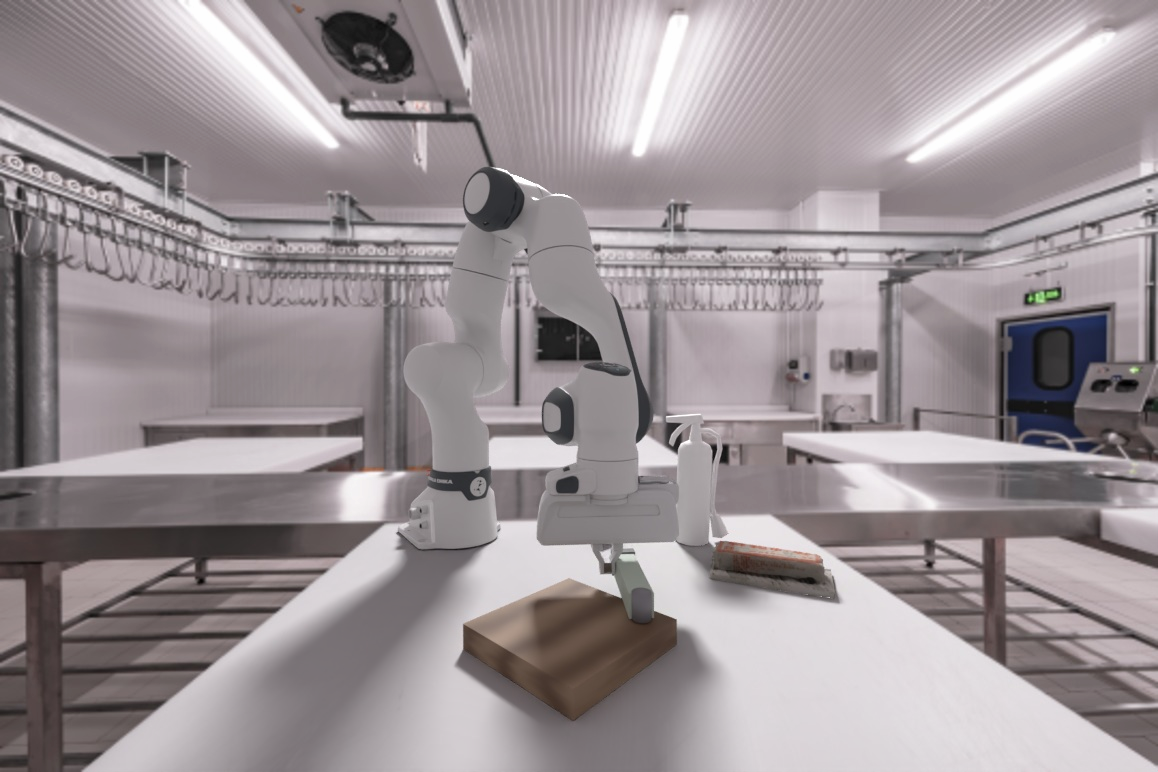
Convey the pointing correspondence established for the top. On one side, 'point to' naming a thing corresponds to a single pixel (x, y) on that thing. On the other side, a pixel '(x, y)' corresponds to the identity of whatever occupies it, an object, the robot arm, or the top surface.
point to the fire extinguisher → (696, 483)
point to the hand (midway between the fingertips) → (607, 572)
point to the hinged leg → (634, 587)
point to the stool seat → (568, 644)
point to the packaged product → (771, 569)
